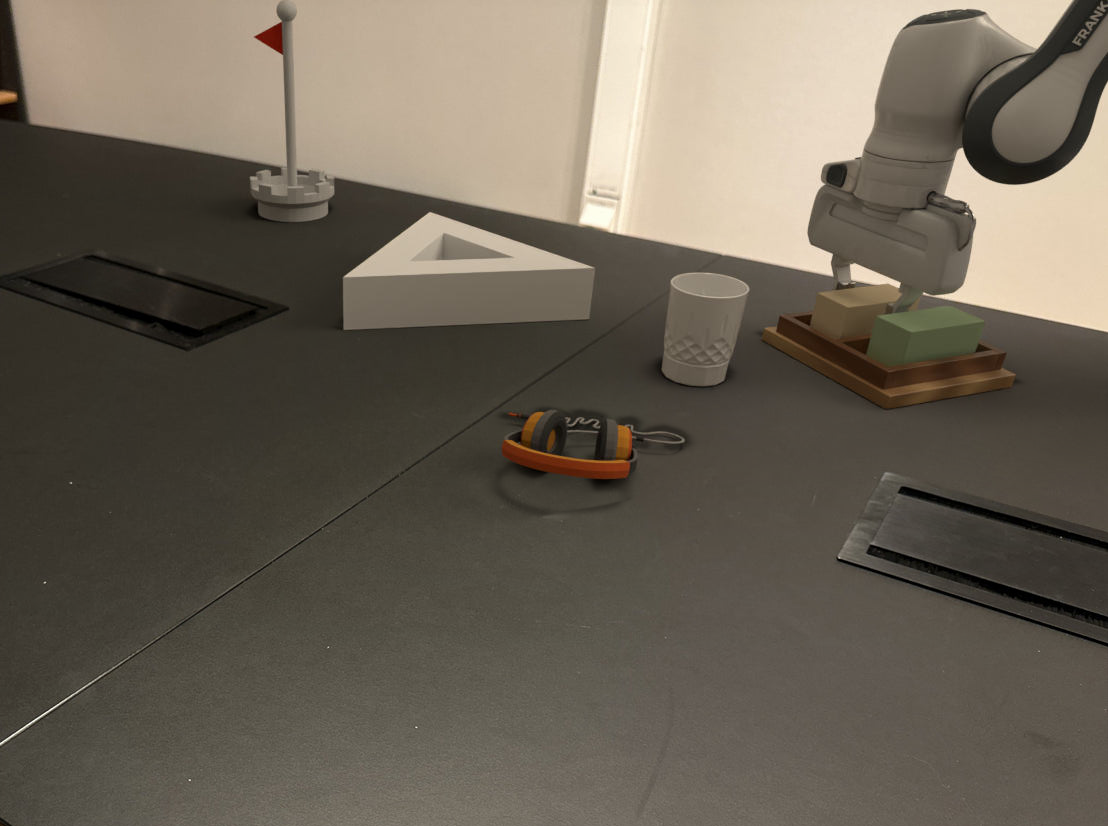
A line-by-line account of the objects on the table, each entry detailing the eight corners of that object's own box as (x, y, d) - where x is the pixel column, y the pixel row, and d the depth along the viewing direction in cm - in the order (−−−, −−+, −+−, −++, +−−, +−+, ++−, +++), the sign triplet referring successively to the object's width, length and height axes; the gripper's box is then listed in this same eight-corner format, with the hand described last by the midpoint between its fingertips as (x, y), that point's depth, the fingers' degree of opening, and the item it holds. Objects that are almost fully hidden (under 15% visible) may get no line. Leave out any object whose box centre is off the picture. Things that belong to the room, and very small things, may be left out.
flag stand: (344, 204, 170) (342, -4, 154) (321, 226, 159) (317, 5, 143) (267, 198, 172) (258, -7, 156) (239, 220, 161) (226, 1, 145)
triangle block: (428, 257, 147) (429, 212, 143) (613, 281, 139) (619, 234, 136) (343, 330, 123) (342, 277, 120) (560, 364, 115) (566, 308, 112)
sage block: (935, 348, 117) (949, 305, 114) (971, 365, 113) (986, 320, 110) (864, 359, 114) (876, 315, 111) (898, 377, 110) (911, 332, 107)
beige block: (837, 350, 116) (848, 307, 113) (807, 334, 120) (817, 292, 117) (908, 339, 119) (920, 297, 116) (876, 324, 123) (888, 283, 120)
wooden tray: (876, 323, 128) (884, 295, 126) (1011, 387, 112) (1022, 356, 110) (761, 339, 122) (767, 311, 121) (885, 409, 107) (895, 377, 105)
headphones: (692, 408, 100) (668, 453, 82) (682, 461, 102) (656, 516, 84) (522, 380, 105) (464, 417, 87) (515, 432, 107) (457, 478, 89)
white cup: (644, 377, 113) (658, 287, 107) (672, 354, 118) (687, 267, 113) (715, 395, 109) (734, 303, 104) (741, 371, 114) (759, 282, 109)
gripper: (1004, 204, 103) (961, 337, 110) (857, 158, 119) (828, 277, 126) (955, 209, 101) (914, 344, 108) (812, 162, 117) (785, 283, 125)
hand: (866, 308), depth 118 cm, fingers open, 7 cm apart
